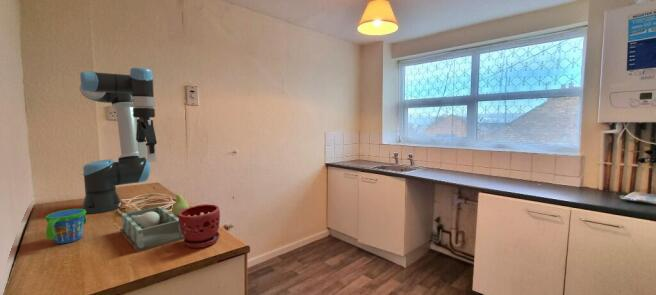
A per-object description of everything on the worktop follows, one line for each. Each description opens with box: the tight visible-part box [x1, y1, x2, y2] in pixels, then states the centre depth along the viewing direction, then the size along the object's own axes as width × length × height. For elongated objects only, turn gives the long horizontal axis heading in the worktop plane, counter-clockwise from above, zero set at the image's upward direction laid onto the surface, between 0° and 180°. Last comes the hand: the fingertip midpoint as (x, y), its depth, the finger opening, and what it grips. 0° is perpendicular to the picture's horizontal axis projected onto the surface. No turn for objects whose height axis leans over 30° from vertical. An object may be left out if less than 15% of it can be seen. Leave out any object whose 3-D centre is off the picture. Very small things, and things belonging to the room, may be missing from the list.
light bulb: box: [130, 212, 160, 228], centre depth 112 cm, size 7×7×11 cm
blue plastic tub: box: [45, 208, 88, 245], centre depth 104 cm, size 16×10×10 cm
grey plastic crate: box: [119, 205, 185, 253], centre depth 108 cm, size 25×15×7 cm, turn 46°
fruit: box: [169, 190, 190, 217], centre depth 128 cm, size 7×8×12 cm
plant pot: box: [177, 204, 221, 249], centre depth 101 cm, size 13×13×12 cm
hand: (147, 159), depth 120 cm, fingers open, 13 cm apart
